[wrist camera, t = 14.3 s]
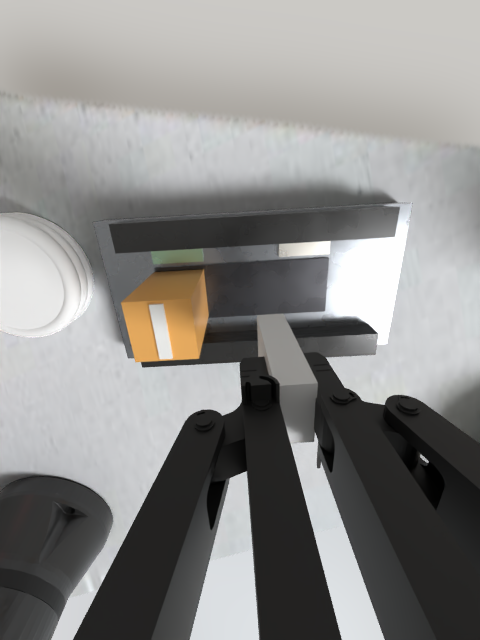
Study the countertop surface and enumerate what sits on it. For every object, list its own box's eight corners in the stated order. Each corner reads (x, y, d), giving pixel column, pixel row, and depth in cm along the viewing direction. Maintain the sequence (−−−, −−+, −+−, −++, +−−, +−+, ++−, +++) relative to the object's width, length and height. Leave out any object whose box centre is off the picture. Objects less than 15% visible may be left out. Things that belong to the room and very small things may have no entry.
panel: (135, 347, 28) (119, 370, 24) (104, 220, 23) (79, 224, 19) (376, 334, 27) (398, 355, 24) (398, 202, 22) (429, 203, 19)
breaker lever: (162, 317, 24) (134, 363, 17) (154, 272, 22) (119, 303, 16) (208, 315, 24) (198, 360, 17) (203, 269, 22) (190, 299, 16)
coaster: (-25, 300, 26) (-62, 314, 22) (-19, 190, 22) (-63, 189, 19) (85, 337, 27) (65, 356, 24) (107, 241, 24) (87, 248, 20)
